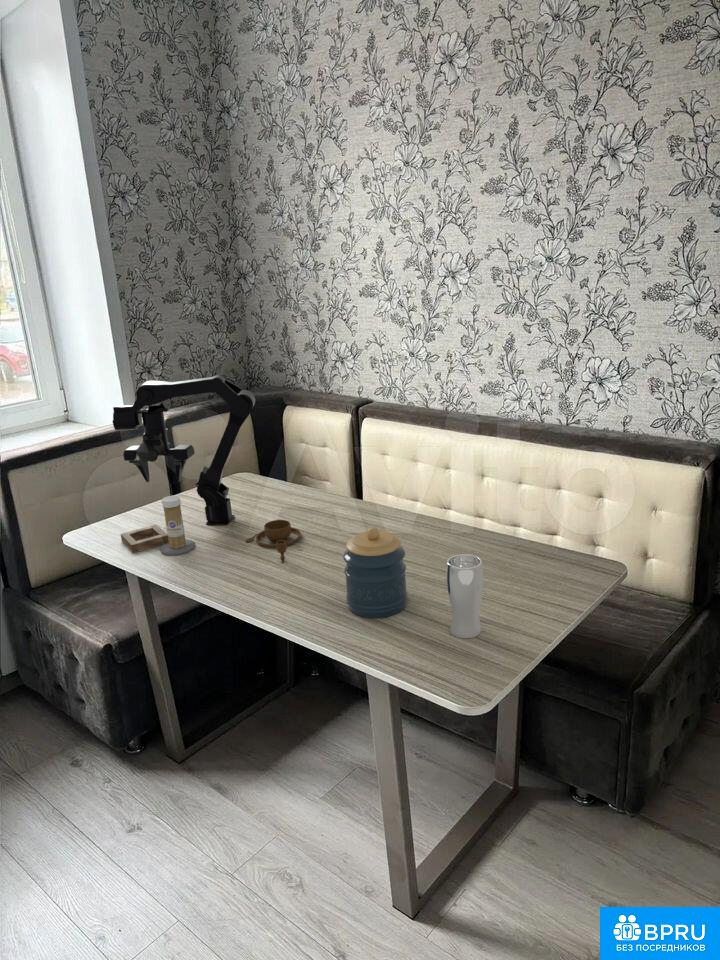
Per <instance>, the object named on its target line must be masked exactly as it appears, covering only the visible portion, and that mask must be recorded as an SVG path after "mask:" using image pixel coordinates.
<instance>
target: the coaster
mask: <svg viewBox="0 0 720 960" xmlns="http://www.w3.org/2000/svg"><path fill="white" fill-rule="evenodd" d="M185 540H186V545H185V546H184V547H182V548H178V549H172V548H170V547H169V542H168V543H165V544H162V545H160V549H159V551H160V553H161V554H162V555H165V556H179V555H184V554H188V553H189V552H191V551H193V550H194V549H195V548H196V542H195V541H194V540H193V539H186V538H185Z"/></svg>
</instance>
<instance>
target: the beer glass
mask: <svg viewBox="0 0 720 960" xmlns="http://www.w3.org/2000/svg"><path fill="white" fill-rule="evenodd" d="M482 562H483V561H482V559H481V558H480V557H479V556H476V555H475V554H468V553H461V554H455V555H453V556H450V557H449V558H448V559H447V561H446V578H445V579H446V590H447V595H448V600H449V605H450V609H451V622H450V623H451V624H450V627H449V630H450V633H451V634H452V636H454V637H457V638H460V639H473V638H475V637H478V636H480V635H481V633H482V625H481V621H480V619H481V618H480V607H481V603H482V599H483V598H482V597H483V592H484V590H483V589H484V573H483V571H484V570H483V564H482Z"/></svg>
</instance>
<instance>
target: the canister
mask: <svg viewBox="0 0 720 960" xmlns="http://www.w3.org/2000/svg"><path fill="white" fill-rule="evenodd" d="M401 543H402V542H401V540H400V538H399V537H398V536H396V535H394V534H392V533H391V532H388V531H385V530H379V529H378V528H376V527H374V526H372V527H369V528H368V529H367V531H363V532H359V533H357V534H356V535H354V536H353V537H352V538H350V539H349V540H348V541H347V542H346V549H345V550H344V552H343V554H342V558H343V560H344V562H345V563H346V565H345V567H344V575H345V582H346V584H345V585H346V603H347V605H348V608H349V610H350V611H351V612H352V613H353V614H355V615H357V616H359V617H362V618H363V617H364V618H371V619H379V618H386V617H390V616H393V615H396V614H397V613H399V612H401V611H402V610H403V609H405V608H406V605H407V600H408V590H407V579H406V578H407V577H406V575H407V574H406V569H407V565H406V563H405V561H404V558H405V556H406V550H405V549H404V547H402V546H401Z"/></svg>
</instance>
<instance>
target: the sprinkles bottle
mask: <svg viewBox="0 0 720 960" xmlns="http://www.w3.org/2000/svg"><path fill="white" fill-rule="evenodd" d="M161 504H162V507H163V511H164V512H163V513H164V520H165V528H166V533H167V535H168V539H169V547H170V548H172V549H178V548H182V547H184V546H185V545H186V540H185V539H186V535H185V534H186V533H185V527H184V521H183V520H184V519H183V513H182V508H181V507H182V506H181V504H182V503H181V498H180V496H178V495H168V496H164V497H163V498H162V499H161Z"/></svg>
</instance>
